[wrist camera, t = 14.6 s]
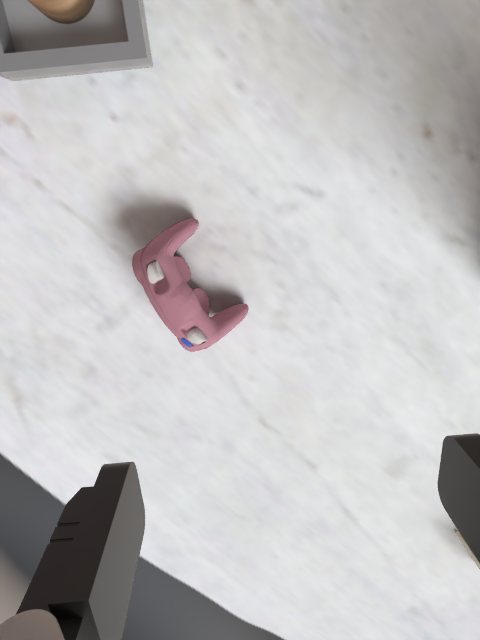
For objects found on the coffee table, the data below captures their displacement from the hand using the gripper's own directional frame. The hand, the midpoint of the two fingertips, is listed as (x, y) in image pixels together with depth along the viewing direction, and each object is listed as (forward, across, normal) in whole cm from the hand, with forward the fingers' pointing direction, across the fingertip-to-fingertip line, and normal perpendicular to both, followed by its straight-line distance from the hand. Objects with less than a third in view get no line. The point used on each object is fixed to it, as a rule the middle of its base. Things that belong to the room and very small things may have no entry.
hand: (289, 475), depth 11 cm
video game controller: (+26, +4, +2) cm, 27 cm away
